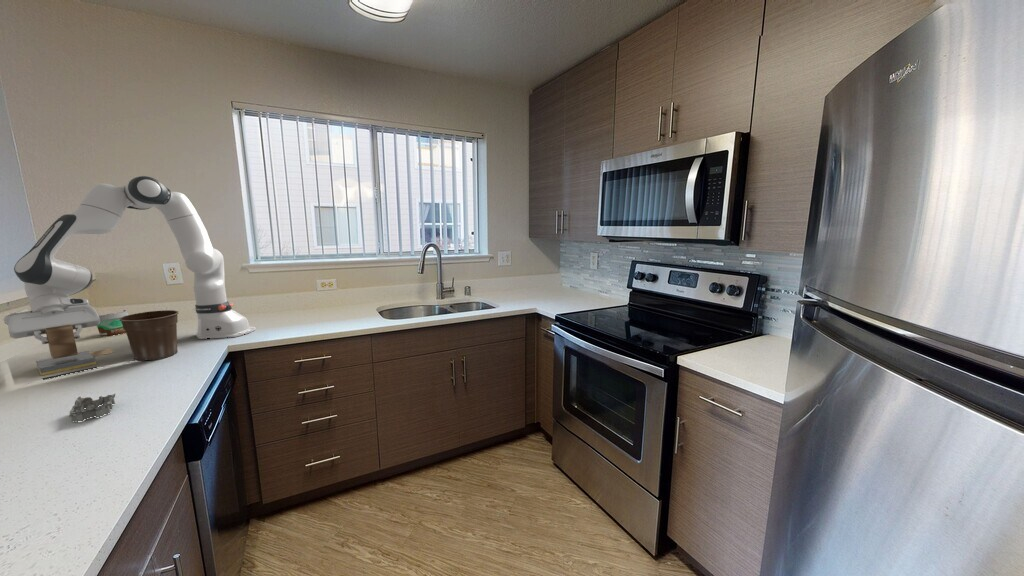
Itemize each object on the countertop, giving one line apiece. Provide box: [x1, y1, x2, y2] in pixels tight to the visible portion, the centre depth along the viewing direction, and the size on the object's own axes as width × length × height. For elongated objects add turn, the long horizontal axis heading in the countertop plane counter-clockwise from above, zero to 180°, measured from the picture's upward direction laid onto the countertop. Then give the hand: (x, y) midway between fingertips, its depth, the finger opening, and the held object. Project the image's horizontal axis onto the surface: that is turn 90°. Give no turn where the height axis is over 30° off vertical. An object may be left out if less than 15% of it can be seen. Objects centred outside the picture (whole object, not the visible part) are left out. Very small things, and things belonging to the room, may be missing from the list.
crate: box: [45, 325, 79, 359], centre depth 129 cm, size 6×6×10 cm
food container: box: [96, 309, 130, 337], centre depth 174 cm, size 12×6×10 cm, turn 168°
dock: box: [35, 350, 97, 381], centre depth 130 cm, size 12×12×4 cm
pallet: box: [89, 348, 115, 357], centre depth 144 cm, size 8×8×2 cm
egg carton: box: [68, 393, 116, 423], centre depth 100 cm, size 11×8×4 cm
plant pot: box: [119, 309, 180, 362], centre depth 143 cm, size 16×16×16 cm
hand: (61, 340), depth 129 cm, fingers closed on crate, 5 cm apart
